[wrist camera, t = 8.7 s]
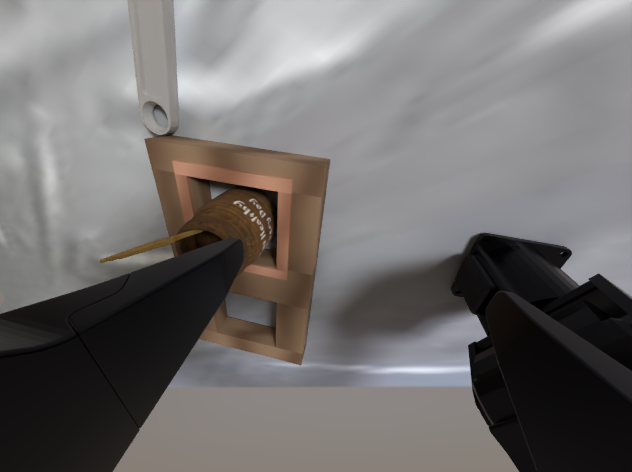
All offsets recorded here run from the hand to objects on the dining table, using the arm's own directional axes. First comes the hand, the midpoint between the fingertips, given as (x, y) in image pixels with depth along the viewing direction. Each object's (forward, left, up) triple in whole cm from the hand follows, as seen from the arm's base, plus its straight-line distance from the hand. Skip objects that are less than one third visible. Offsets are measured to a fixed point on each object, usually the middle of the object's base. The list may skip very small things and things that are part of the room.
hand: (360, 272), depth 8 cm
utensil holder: (+10, +5, -12) cm, 16 cm away
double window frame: (+10, +11, -12) cm, 19 cm away
